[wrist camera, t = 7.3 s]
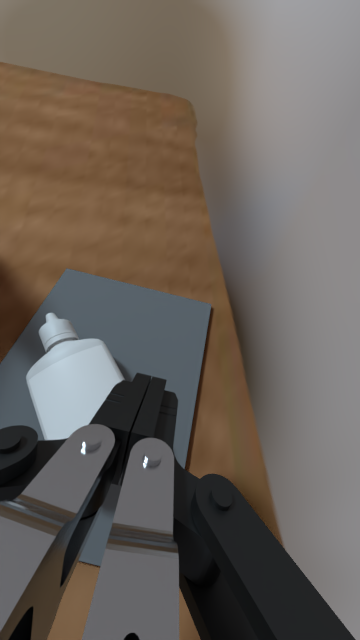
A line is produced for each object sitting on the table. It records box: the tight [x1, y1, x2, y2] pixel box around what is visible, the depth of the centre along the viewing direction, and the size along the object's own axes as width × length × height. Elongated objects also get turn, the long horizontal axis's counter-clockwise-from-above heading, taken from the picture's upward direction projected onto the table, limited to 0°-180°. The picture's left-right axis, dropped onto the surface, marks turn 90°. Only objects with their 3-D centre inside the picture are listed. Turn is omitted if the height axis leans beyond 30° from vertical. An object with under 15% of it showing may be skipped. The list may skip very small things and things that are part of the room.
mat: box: [0, 269, 211, 566], centre depth 17 cm, size 16×20×1 cm
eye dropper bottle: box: [26, 313, 125, 440], centre depth 15 cm, size 4×6×12 cm
